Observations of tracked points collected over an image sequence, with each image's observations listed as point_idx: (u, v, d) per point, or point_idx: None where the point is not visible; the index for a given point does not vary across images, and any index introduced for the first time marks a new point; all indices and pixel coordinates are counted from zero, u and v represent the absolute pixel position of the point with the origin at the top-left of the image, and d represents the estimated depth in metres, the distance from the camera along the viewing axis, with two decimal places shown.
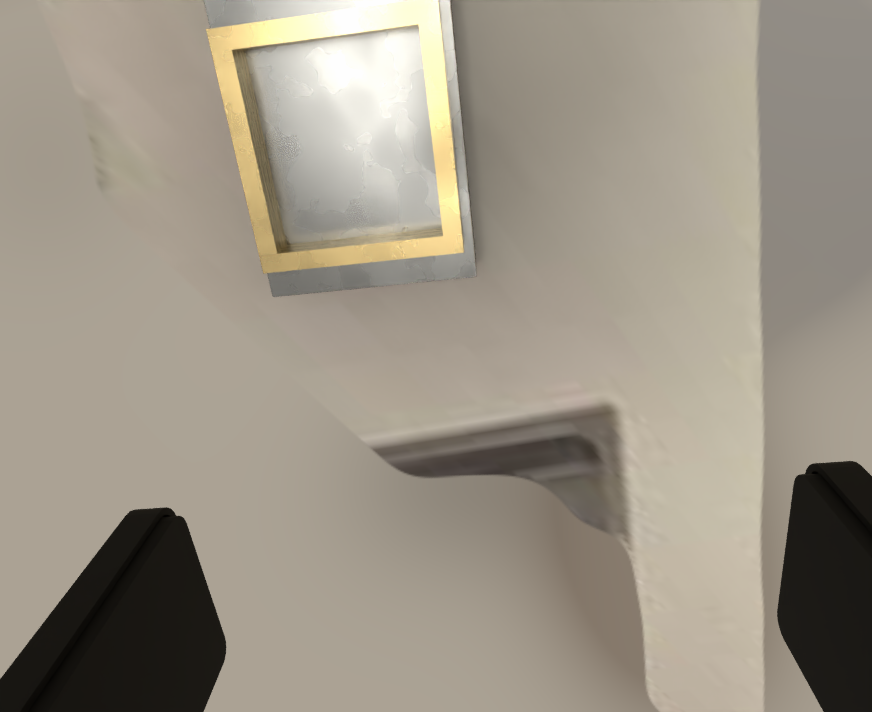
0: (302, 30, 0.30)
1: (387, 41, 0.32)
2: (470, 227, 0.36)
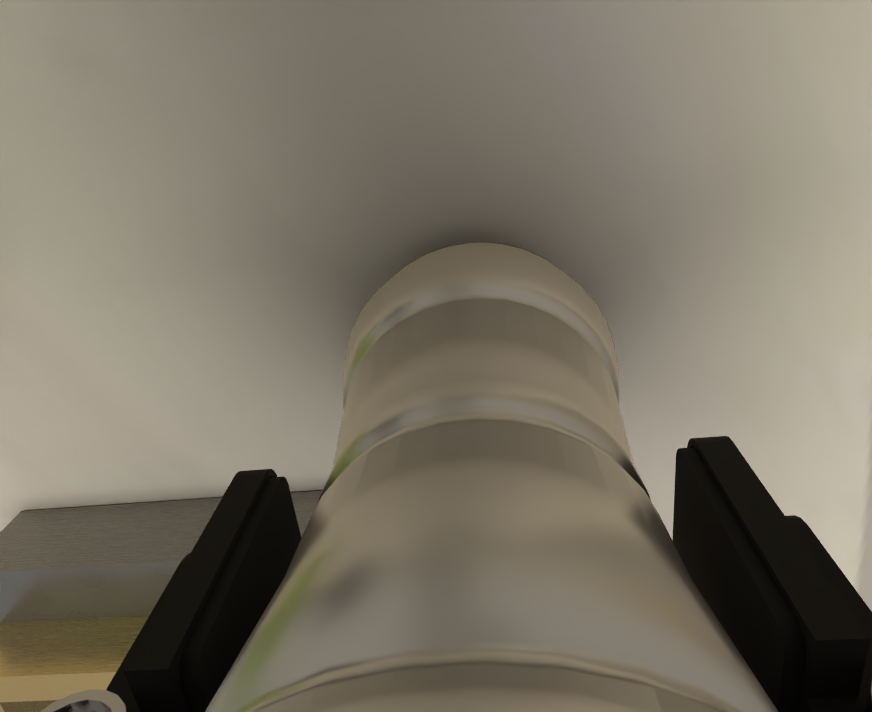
0: None
1: None
2: None
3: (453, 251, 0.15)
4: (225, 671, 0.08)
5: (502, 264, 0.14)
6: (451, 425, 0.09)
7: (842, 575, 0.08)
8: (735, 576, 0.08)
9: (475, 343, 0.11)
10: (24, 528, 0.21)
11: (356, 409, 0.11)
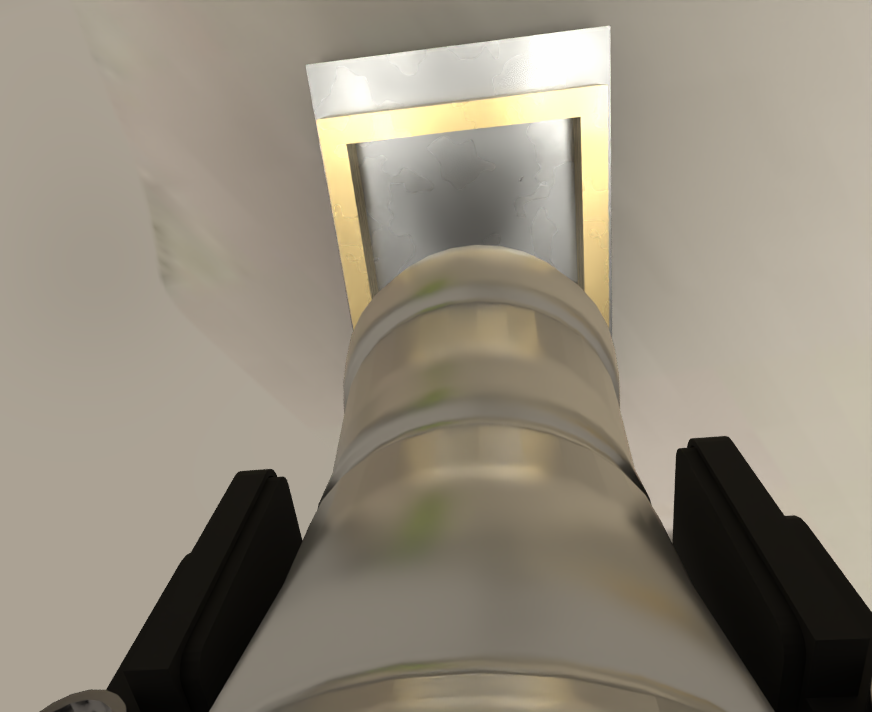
0: (435, 122, 0.25)
1: (529, 129, 0.26)
2: None
3: (454, 254, 0.15)
4: (225, 671, 0.08)
5: (503, 267, 0.14)
6: (452, 429, 0.09)
7: (842, 575, 0.08)
8: (734, 576, 0.08)
9: (476, 346, 0.11)
10: None
11: (357, 412, 0.11)
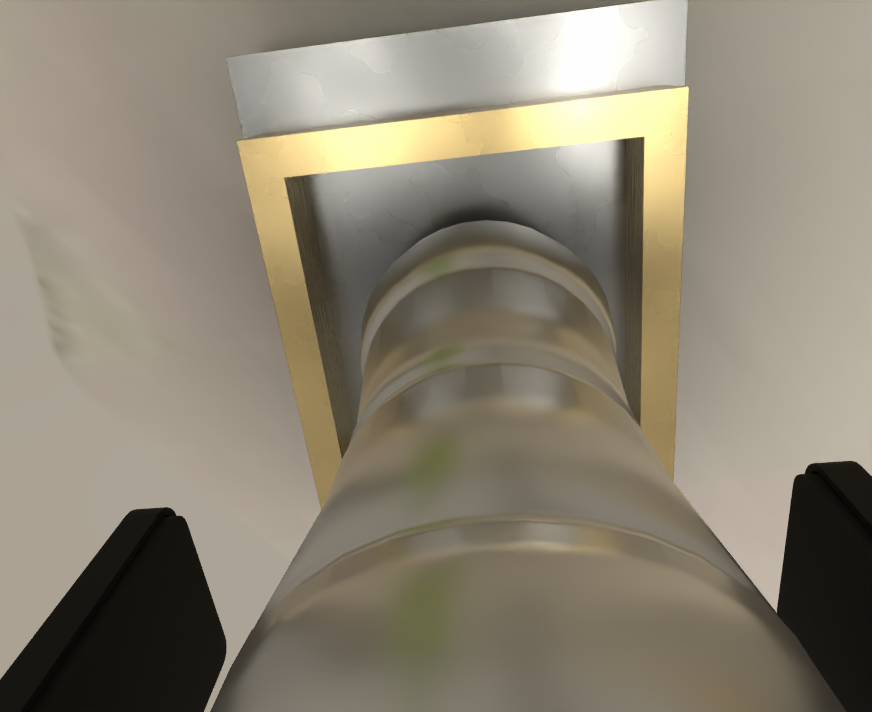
0: (419, 145, 0.16)
1: (560, 153, 0.18)
2: None
3: (467, 226, 0.16)
4: None
5: (513, 238, 0.15)
6: (476, 367, 0.10)
7: None
8: None
9: (492, 304, 0.12)
10: None
11: (382, 362, 0.13)
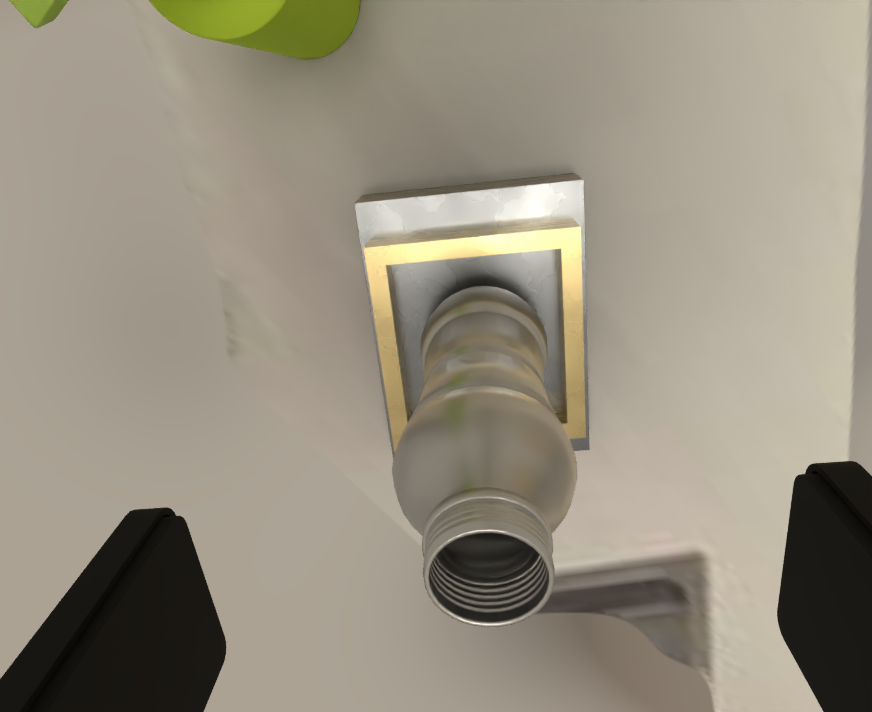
0: (453, 250, 0.33)
1: (523, 251, 0.35)
2: (587, 407, 0.38)
3: (475, 290, 0.33)
4: None
5: (496, 297, 0.32)
6: (476, 352, 0.27)
7: None
8: None
9: (484, 328, 0.29)
10: (373, 196, 0.36)
11: (436, 352, 0.29)
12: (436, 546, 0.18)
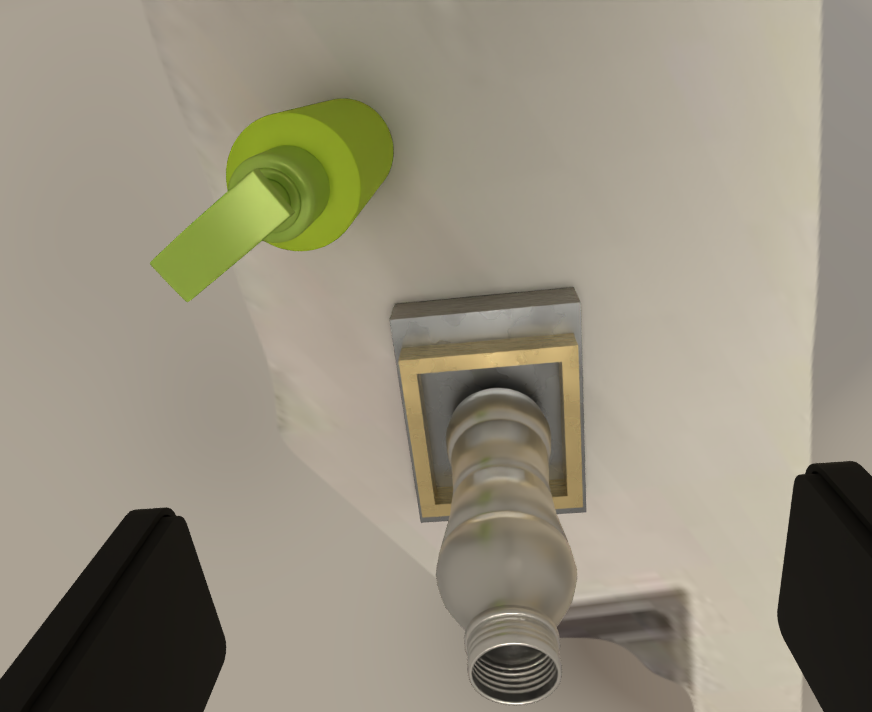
0: (472, 363, 0.40)
1: None
2: (584, 479, 0.45)
3: (491, 395, 0.40)
4: None
5: (509, 403, 0.39)
6: (496, 467, 0.34)
7: None
8: None
9: (501, 439, 0.36)
10: (404, 308, 0.43)
11: (463, 457, 0.36)
12: (477, 653, 0.25)
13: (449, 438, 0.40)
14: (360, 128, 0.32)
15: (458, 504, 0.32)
